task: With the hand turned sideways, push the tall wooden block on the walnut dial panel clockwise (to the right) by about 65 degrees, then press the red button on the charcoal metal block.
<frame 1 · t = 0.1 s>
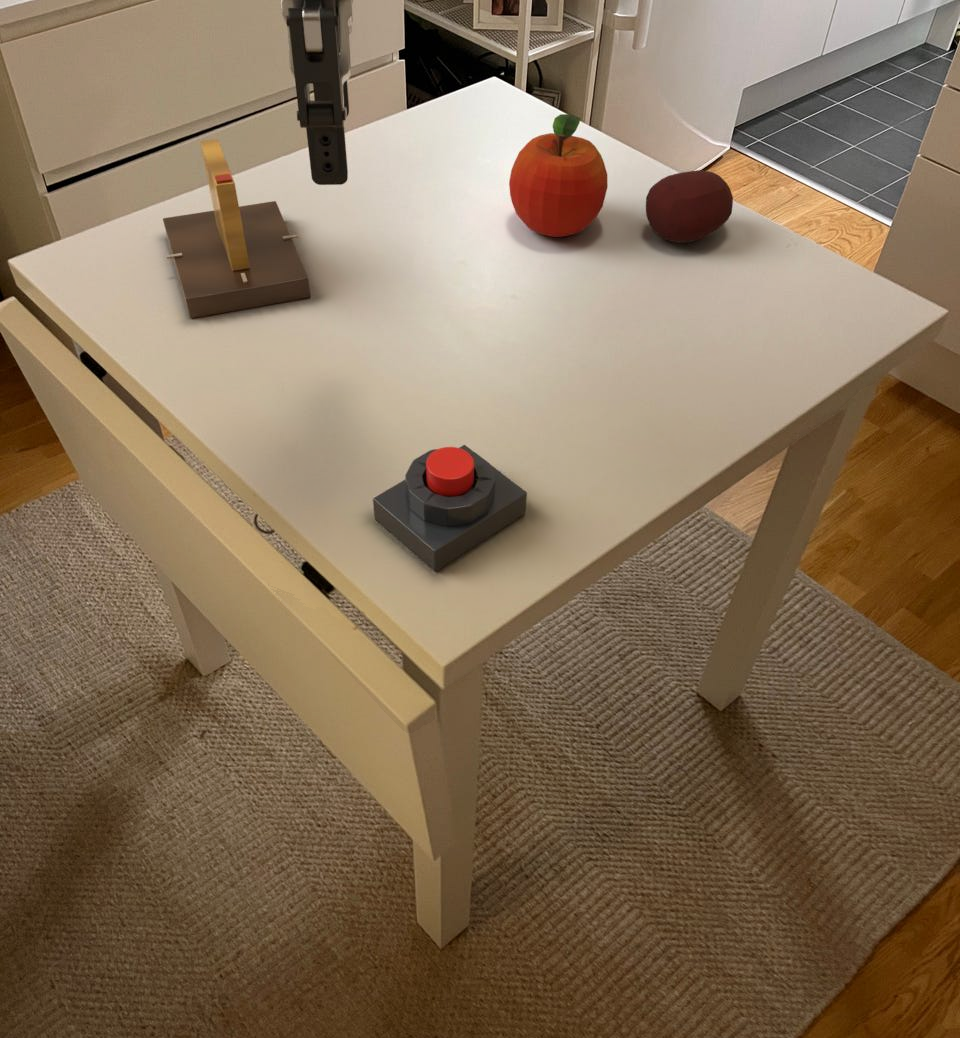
hand: (331, 148, 64), 22 cm above the table, tool pointing down, fingers open, 8 cm apart
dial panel: (236, 266, 94), on the table
button: (450, 471, 71), point 5 cm above the table, slide at 0.1 cm
fruit: (554, 228, 100), on the table
wooden block: (225, 204, 89), point 6 cm above the table, hinge at 0.0°
potato: (685, 236, 99), on the table
button block: (450, 516, 75), on the table
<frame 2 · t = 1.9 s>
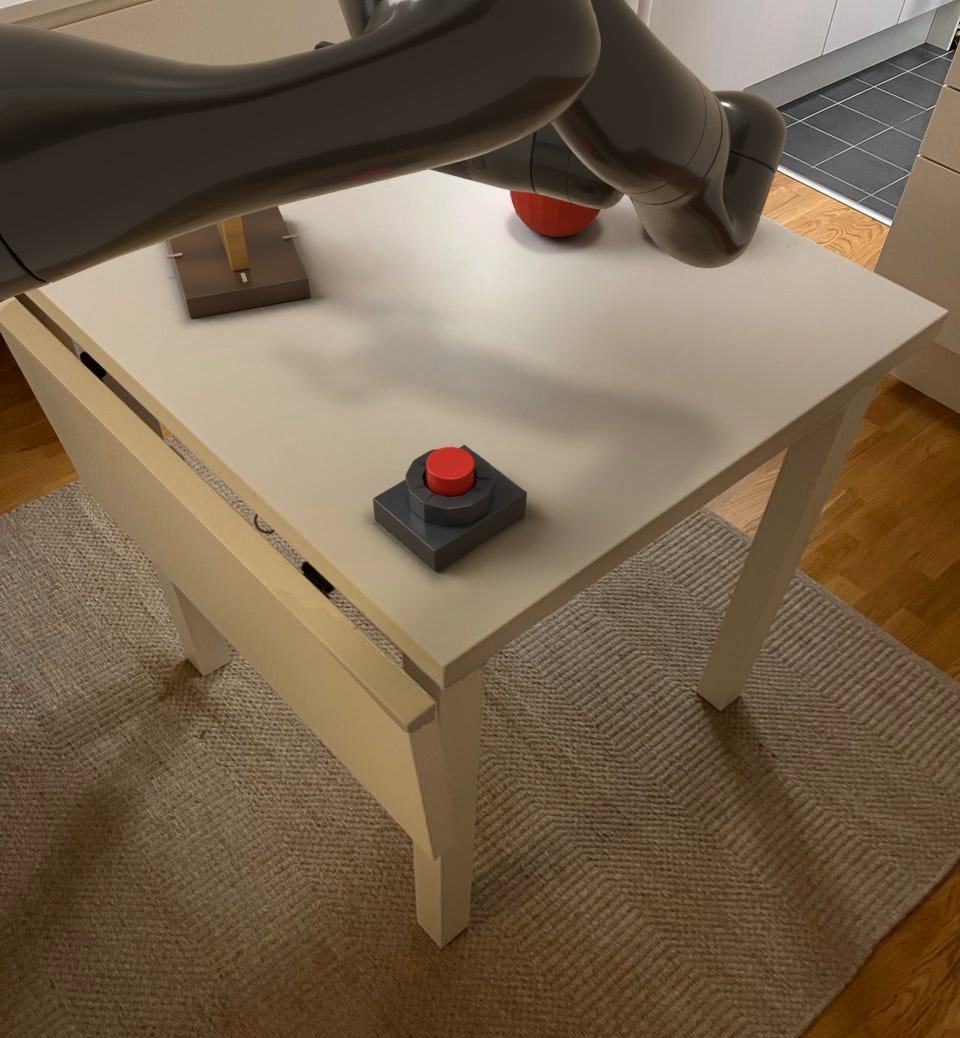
hand: (291, 76, 74), 20 cm above the table, tool horizontal, fingers open, 7 cm apart
nothing on the table moved.
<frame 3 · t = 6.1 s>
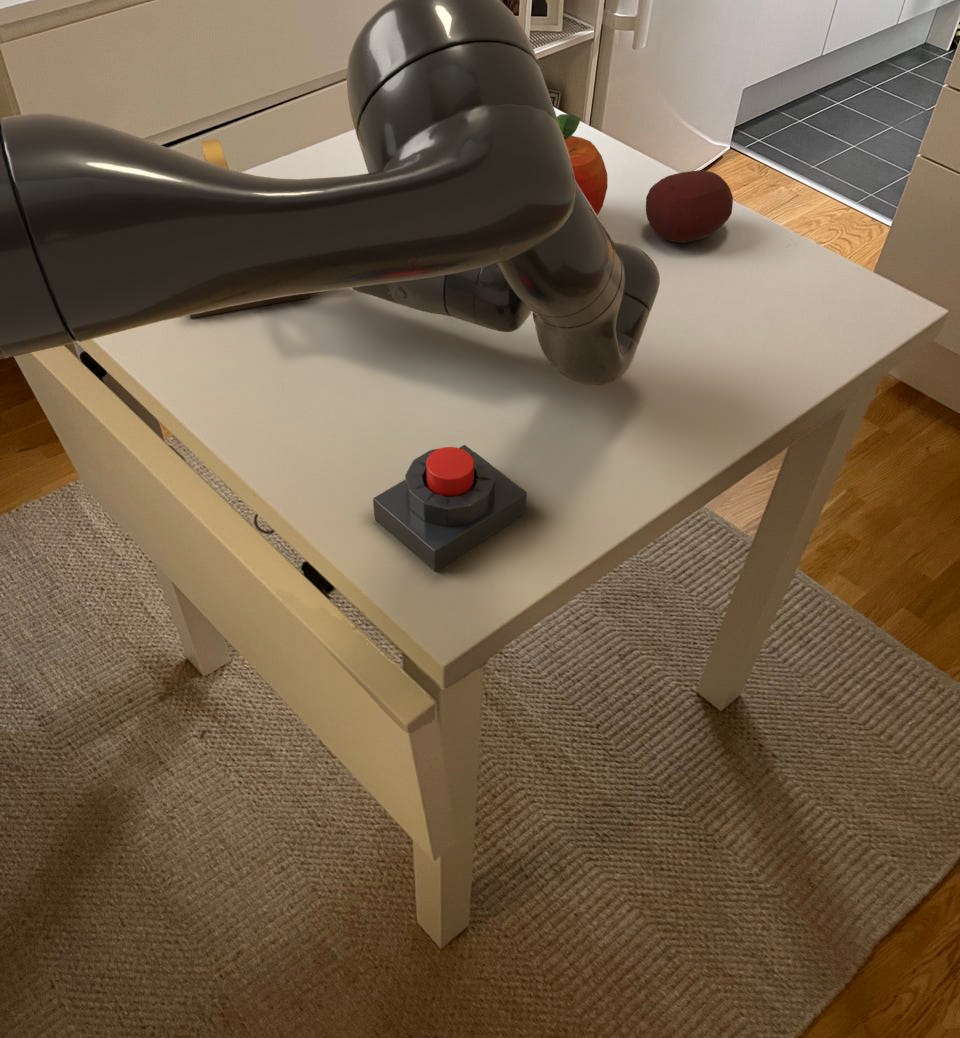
hand: (235, 205, 85), 8 cm above the table, tool horizontal, fingers closed
wooden block: (225, 204, 89), point 6 cm above the table, hinge at -1.2°, touching gripper
everything else where it was.
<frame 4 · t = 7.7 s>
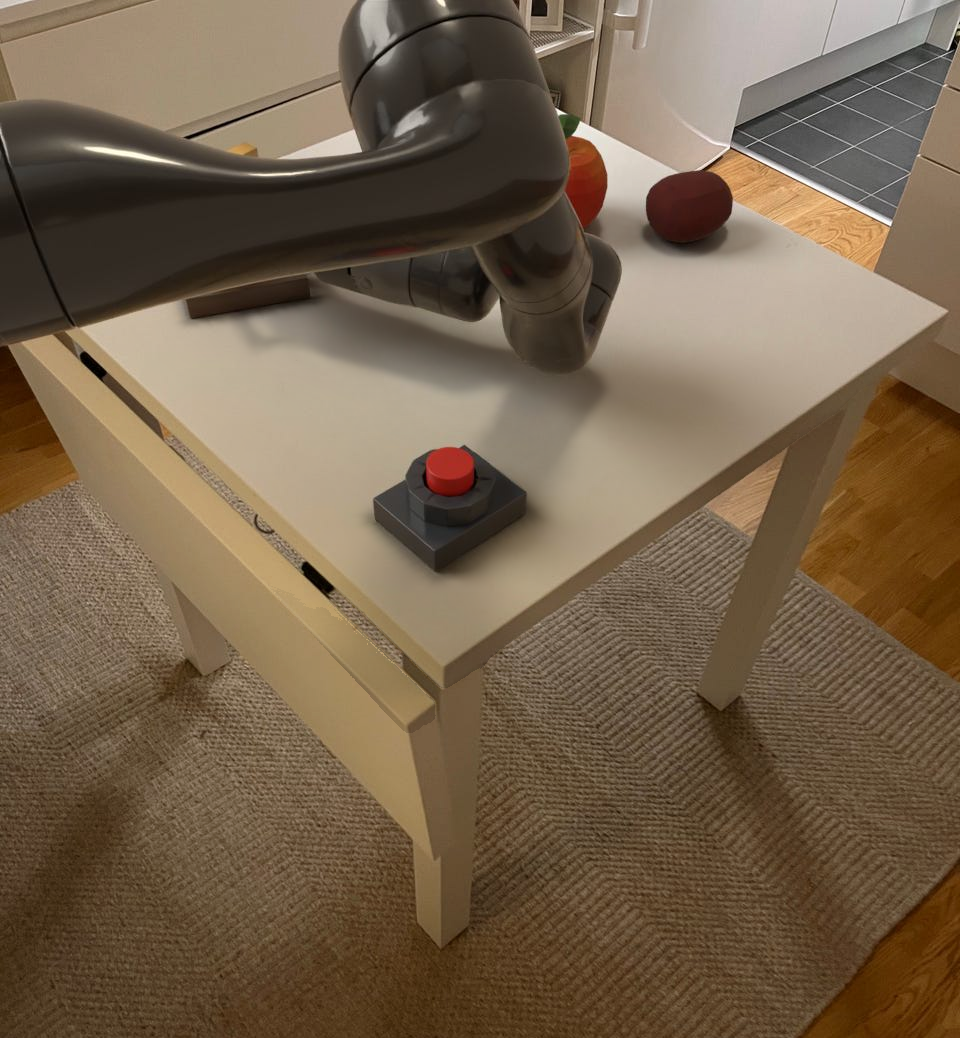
hand: (204, 198, 86), 8 cm above the table, tool horizontal, fingers closed
wooden block: (225, 204, 89), point 6 cm above the table, hinge at -58.0°, touching gripper
everything else where it was.
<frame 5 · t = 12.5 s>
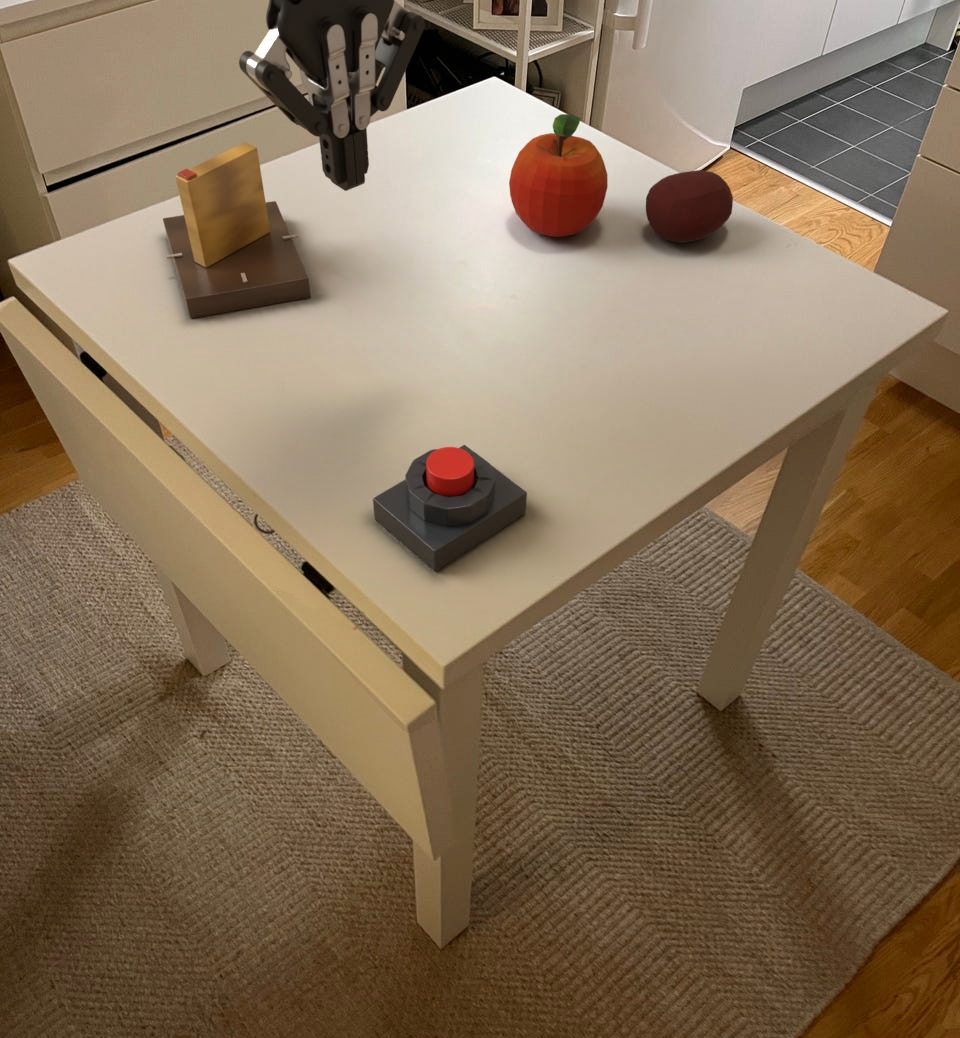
hand: (346, 183, 68), 19 cm above the table, tool pointing down, fingers closed
wooden block: (225, 204, 89), point 6 cm above the table, hinge at -58.1°
everything else where it was.
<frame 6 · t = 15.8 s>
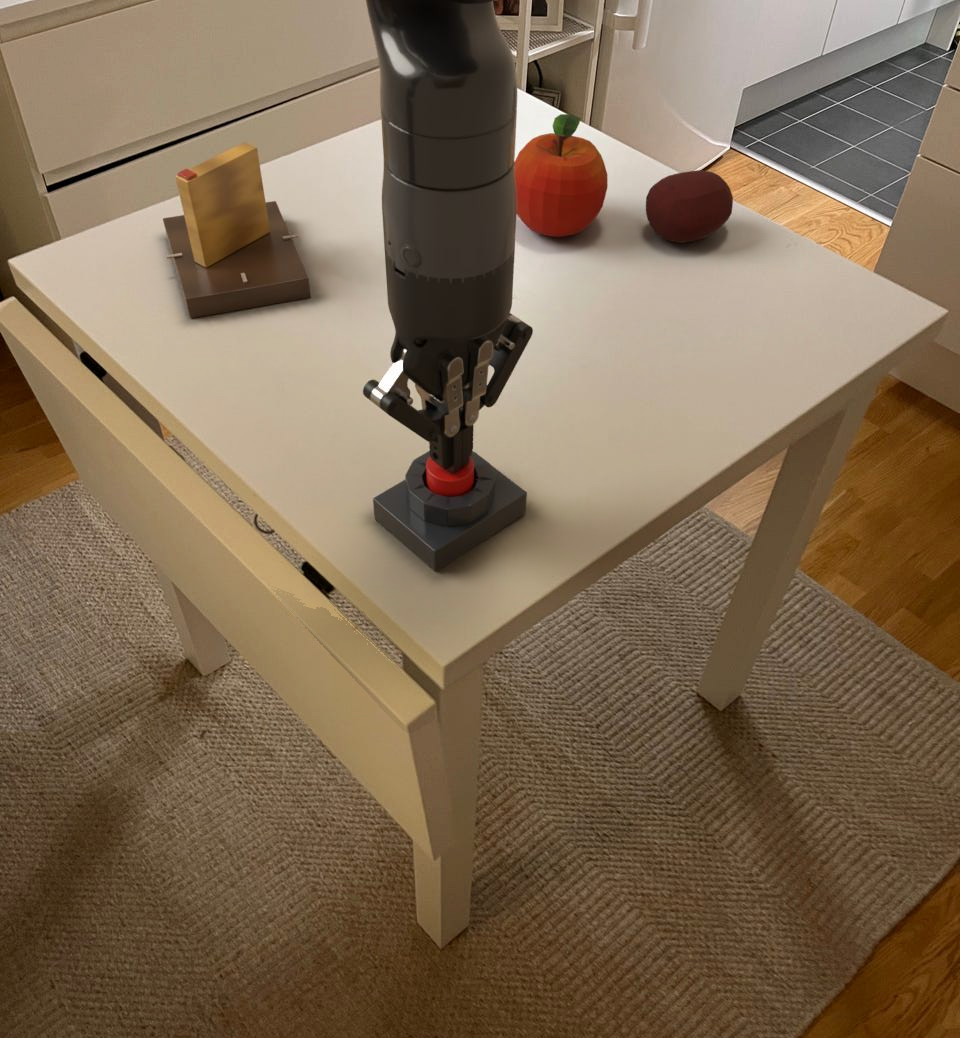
hand: (451, 463, 70), 5 cm above the table, tool pointing down, fingers closed
button: (450, 473, 71), point 4 cm above the table, slide at 0.0 cm, touching gripper
everything else where it was.
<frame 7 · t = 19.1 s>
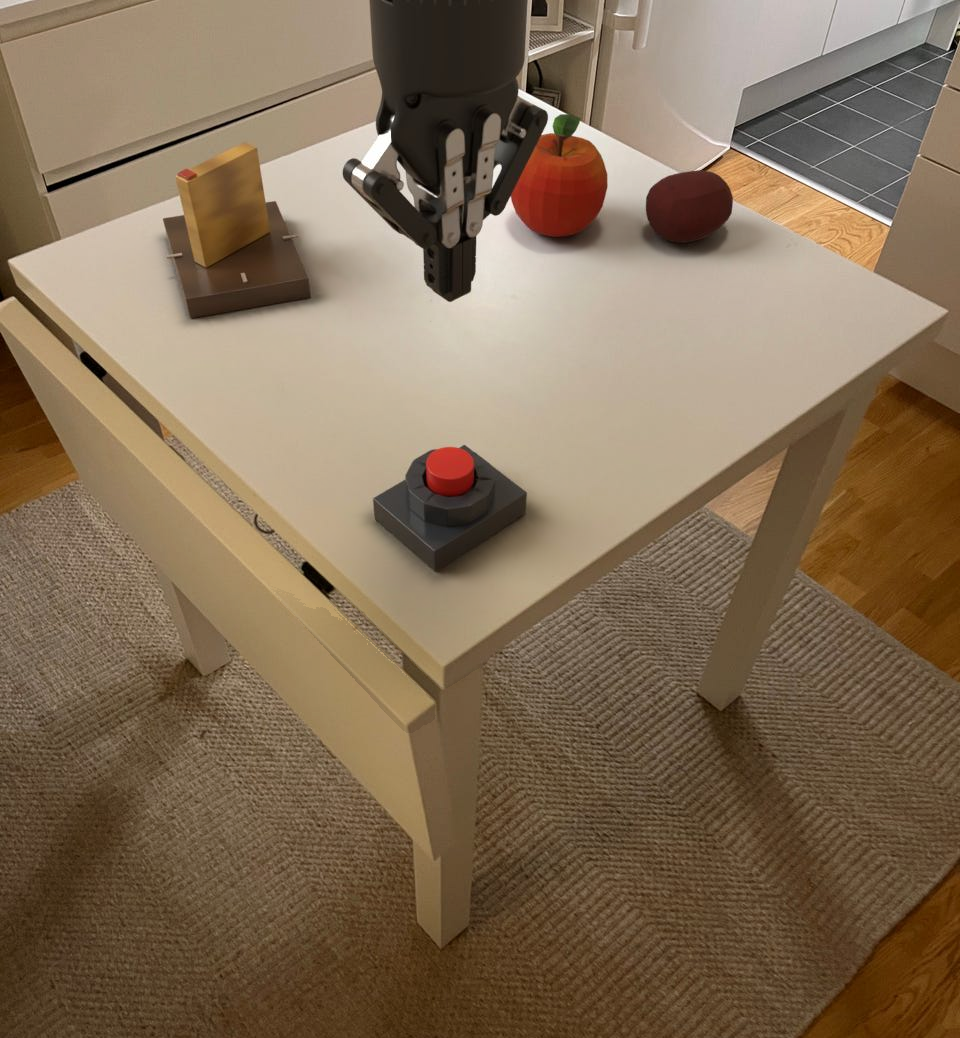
hand: (449, 291, 59), 19 cm above the table, tool pointing down, fingers closed
button: (450, 471, 71), point 5 cm above the table, slide at 0.1 cm
everything else where it was.
at the end: wooden block at -58° (first picture: +0°); button pushed in 1.1 cm at the most during the clip, back to where it started at the end; button slide at 0.1 cm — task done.
